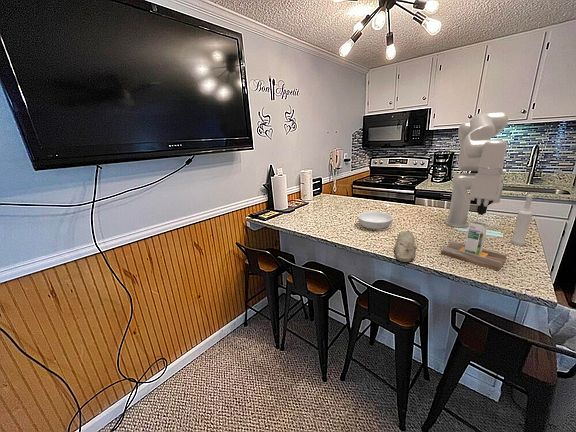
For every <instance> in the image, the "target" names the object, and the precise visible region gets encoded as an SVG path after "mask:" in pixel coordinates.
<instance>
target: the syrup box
mask: <svg viewBox="0 0 576 432" xmlns="http://www.w3.org/2000/svg"><path fill="white" fill-rule="evenodd" d="M488 226H489V223H488V222H484V221H477V220H472V221H470V222H469V227H467V232H466V233H467V235H466V240H465V249H464V252H468V253H471V254H475V255H480V254H481V252H482V249H484V245H485V239H486V234H487V229H488Z"/></svg>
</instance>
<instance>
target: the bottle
mask: <svg viewBox="0 0 576 432" xmlns="http://www.w3.org/2000/svg"><path fill="white" fill-rule="evenodd" d="M533 198H534V195H533V194H531V195H530V194H528V195H526V199H525V201H524V202H525V203H524V206H523V208H522V209H520V210H519V211H518V212H517V217H516V221H515V225H514V230H513V234H512V238H511V239H510V243H511V244H512V245H514V246H525V244H526V237H527V234H528V231H529V228H530V224H531V221H532V218H533V215H534V213H533V212H532V211H531V209H530V208H531V204H532V202H533V201H532V200H533Z"/></svg>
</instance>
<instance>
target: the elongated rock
mask: <svg viewBox="0 0 576 432" xmlns="http://www.w3.org/2000/svg"><path fill="white" fill-rule="evenodd" d="M395 240H396V242H395V245H394V253H395V256H396V259H397V260H398V261H399V262H403V263H411V261H414V259H415V257H416V251H417V250H418V247H417V245H415V241H416V240H415V236H414V234H413V233H412V232H411V231H406V230H405V231H401V232H399V233H398V235H397V238H396V239H395Z"/></svg>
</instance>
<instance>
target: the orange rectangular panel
mask: <svg viewBox="0 0 576 432" xmlns="http://www.w3.org/2000/svg"><path fill="white" fill-rule="evenodd" d="M464 249H465V247H462V248H461V249H460V251H464ZM479 256H482V257H487V256H488V253H484V252H481V254H480V255H479Z"/></svg>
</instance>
